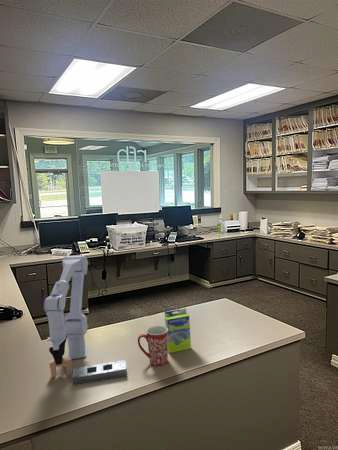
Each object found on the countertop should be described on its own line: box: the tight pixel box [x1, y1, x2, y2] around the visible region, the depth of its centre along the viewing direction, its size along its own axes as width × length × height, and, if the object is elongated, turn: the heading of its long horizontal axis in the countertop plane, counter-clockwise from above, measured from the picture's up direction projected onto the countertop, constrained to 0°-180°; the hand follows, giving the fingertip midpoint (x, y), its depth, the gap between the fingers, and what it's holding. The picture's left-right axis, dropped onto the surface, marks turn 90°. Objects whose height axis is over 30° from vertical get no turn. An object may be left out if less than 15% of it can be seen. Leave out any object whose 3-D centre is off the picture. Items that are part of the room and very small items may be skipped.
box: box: [164, 307, 192, 354], centre depth 144 cm, size 11×4×17 cm, turn 108°
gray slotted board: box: [71, 359, 128, 386], centre depth 128 cm, size 7×20×3 cm, turn 102°
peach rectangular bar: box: [48, 356, 73, 378], centre depth 130 cm, size 2×8×6 cm, turn 102°
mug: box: [137, 325, 169, 367], centre depth 135 cm, size 13×9×14 cm
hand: (60, 359), depth 130 cm, fingers open, 7 cm apart
